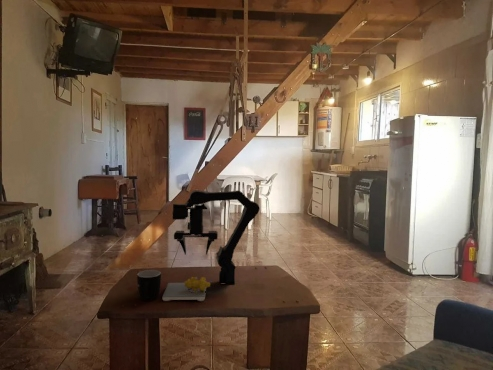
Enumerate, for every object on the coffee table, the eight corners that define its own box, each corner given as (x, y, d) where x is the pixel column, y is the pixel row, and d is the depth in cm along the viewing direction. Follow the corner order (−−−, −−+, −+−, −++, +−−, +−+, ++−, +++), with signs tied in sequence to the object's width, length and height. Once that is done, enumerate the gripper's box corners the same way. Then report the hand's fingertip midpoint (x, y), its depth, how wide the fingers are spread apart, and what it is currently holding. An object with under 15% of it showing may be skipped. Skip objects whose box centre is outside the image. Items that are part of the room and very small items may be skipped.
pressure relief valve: (184, 277, 143) (209, 278, 142) (190, 273, 155) (213, 273, 154) (183, 292, 142) (208, 293, 142) (189, 286, 154) (213, 287, 154)
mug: (140, 294, 146) (139, 269, 145) (162, 294, 147) (162, 269, 146) (133, 306, 134) (132, 280, 133) (157, 306, 135) (157, 279, 134)
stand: (206, 287, 155) (206, 282, 154) (204, 302, 140) (204, 296, 139) (168, 288, 154) (168, 282, 153) (162, 302, 139) (162, 296, 138)
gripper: (218, 216, 167) (217, 249, 168) (177, 216, 165) (177, 249, 167) (217, 220, 155) (217, 256, 157) (173, 220, 154) (173, 256, 156)
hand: (196, 254), depth 159 cm, fingers open, 9 cm apart
